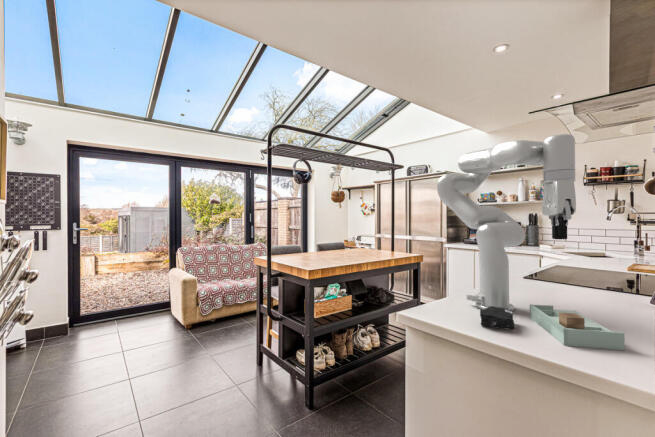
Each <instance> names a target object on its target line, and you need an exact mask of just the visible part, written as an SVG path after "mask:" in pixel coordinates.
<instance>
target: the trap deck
mask: <svg viewBox="0 0 655 437" xmlns="http://www.w3.org/2000/svg"><path fill="white" fill-rule="evenodd" d="M559 313H575V314H578V315H579V316H581V317H583V318H585V329H571V328H565V327H563V326H562V325H561V324H559ZM529 318H530V319H532V321H534V322H535V323H536V324H538V326H540V327H541V328H542V329H543V330H545V331H546V332H547V333H548V334H550V335H551V336H552V337H554V338H555V339H556V340H557V341H558V342H559V343H560V344H562V345H563V346H567V347H568V346H569V347H581V348H591V349H592V348H594V349H606V350H617V351H625V350H626V348H625V332H623V331H614V330H610V329H609V328H606V327H605V326H603V325H601V324H600V323H599V322H596V321H594V320H593V319H591V318H589V317H587V316H586V315H583V314H582V313H580V312H579V311H576V310H568V309H565V310H564V309H554V305H551V304H550V305H549V304H548V305H547V304H546V305H545V304H544V305H543V304H529Z"/></svg>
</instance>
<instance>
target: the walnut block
mask: <svg viewBox="0 0 655 437" xmlns="http://www.w3.org/2000/svg"><path fill="white" fill-rule="evenodd" d="M559 324H561V325H562V326H563V327H565V328H571V329H585V318H583V317H581V316H579V315H578V314H575V313H559Z"/></svg>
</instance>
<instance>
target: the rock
mask: <svg viewBox="0 0 655 437" xmlns="http://www.w3.org/2000/svg"><path fill="white" fill-rule="evenodd" d="M479 316H480V325H481V326H482V327H486V328H497V329H501V330H502V329H503V330H504V329H505V330H515V321H514V312H513V311H512V310H508V309H504V308H501V307H494V306H490V307H488V308H487V309H480V312H479Z"/></svg>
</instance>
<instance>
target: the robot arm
mask: <svg viewBox="0 0 655 437" xmlns="http://www.w3.org/2000/svg"><path fill="white" fill-rule="evenodd" d="M512 165H524V166H542V170H543V171H542V172H543V174H542V178H543V179H542V182H543V184H544V185H543V190H542V202H541V203H542V205H541V213H542V215H544V216H548V219H549V220H550V223H551V238H552V240H567V239H568V225H569V221H570V220H571V219H572V216H573V215H574V214H575V213H576V211H577V210H576V209H577V199H576V196H577V195H576V188H575V182H576V138H575V137H574V135H572V134H568V133H563V134H555V135H550V136H548V137H546V138H545V139H544V140H543V141H539V140H537V141H536V140H527V139H526V140H523V139H519V140H513V141H507V142H503V143H498V144H495V145H494V146H492V147H490V148H486V149H480V150H475V151H469V152H467V153H464V154H462V155H461V157H459V158H458V161H457V166H458V169H459V170H460V171H462V172H463V173H447V174H443V175H442V176H440V177H439V178H438V181H437V183H436V189H437V194H438V197H439V199H440V200H441V201H442V203H443V204H444V205H445V206H446V207H447V208H449V209H450V210H451V211H452V212H453V213H454V214H455V216H456V217H457V218H459V220H461V221H462V223H464V225H466V226H467V227H468V228H469V229H471V230H476V233H475V238H476V244H477V248H478V256H479V257H478V259H479V260H478V262H479V292H477V294H474V295H472V294H466V295H465V297H466V298H465V299H466V300H467V301H471V302H475V307H477V308H478V309H480V310H482V309H487V308H488V307H490V306H494V307H501V308H504V309H508V310H512V312H513V311H515V306H514V305H513V304H512V303H510V266H509V265H510V262H509V261H510V260H509V257H508V254H507V252H506V250H505V249H506V248H514V247H519V246H520V245H522V244H523V243H524V241H525V238H526V232H525V230H524V228H523V226H521V224H519V222H517V221H516V220H515V219H514V218H513V217H512V216H510V215H509V214H508V213H507V212H506V211H504V210H503V209H501V208H500V207H497V206H495V205H480V204H477V203H476V202H475V201H473V199H472V198H470V197H469V196H468V195H466V194H471V193H474V192H475V191H477V190H478V189H479V188H480V187H481V185H482V184H483V183H484V182H485V181H486V180H487V179H488V178H489V176H490V175H491V174H492V173H493V172H496V171H499V170H500V169H501V168H502V167H503V166H512Z"/></svg>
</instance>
